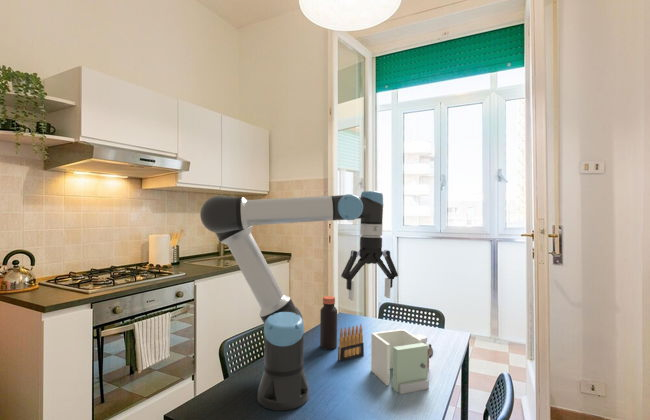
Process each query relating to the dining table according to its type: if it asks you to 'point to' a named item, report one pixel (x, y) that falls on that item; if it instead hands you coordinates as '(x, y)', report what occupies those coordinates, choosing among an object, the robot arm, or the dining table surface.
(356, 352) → the ammunition clip
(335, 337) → the vinegar
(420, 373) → the door
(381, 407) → the dining table surface
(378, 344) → the cabinet
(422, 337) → the pill bottle
